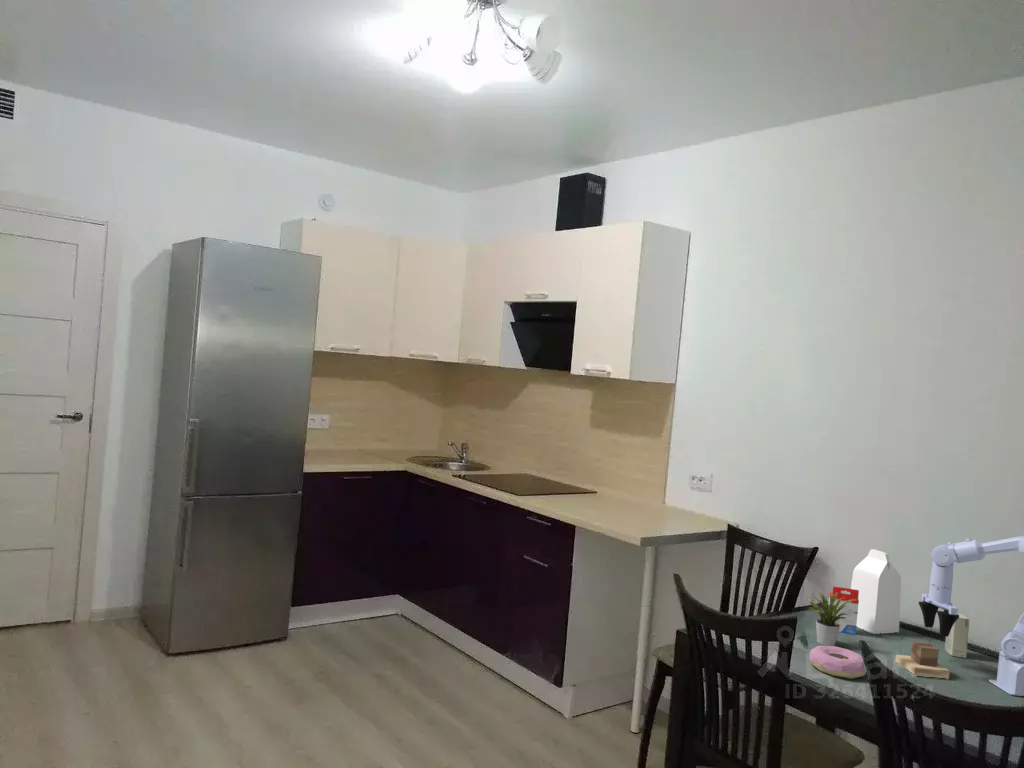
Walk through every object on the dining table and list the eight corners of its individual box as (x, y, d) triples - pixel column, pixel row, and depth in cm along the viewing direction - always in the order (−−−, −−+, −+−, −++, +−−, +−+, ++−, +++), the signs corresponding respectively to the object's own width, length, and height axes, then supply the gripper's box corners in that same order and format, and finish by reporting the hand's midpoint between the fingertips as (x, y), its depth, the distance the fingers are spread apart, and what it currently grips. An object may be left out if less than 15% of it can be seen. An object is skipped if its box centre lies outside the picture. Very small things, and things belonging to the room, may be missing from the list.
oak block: (948, 681, 214) (949, 670, 214) (913, 678, 214) (914, 667, 214) (928, 667, 224) (929, 657, 224) (894, 664, 224) (896, 654, 224)
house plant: (843, 637, 243) (849, 587, 243) (861, 653, 229) (867, 599, 229) (798, 632, 244) (804, 582, 244) (813, 648, 230) (819, 594, 230)
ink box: (853, 630, 252) (857, 586, 252) (855, 635, 247) (860, 590, 247) (825, 625, 254) (830, 582, 254) (827, 630, 250) (832, 586, 249)
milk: (845, 621, 261) (852, 546, 261) (869, 620, 266) (877, 546, 266) (873, 633, 250) (881, 555, 250) (898, 632, 255) (906, 555, 254)
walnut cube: (937, 666, 217) (938, 649, 217) (919, 664, 217) (921, 647, 217) (927, 659, 222) (929, 642, 222) (910, 658, 222) (912, 641, 222)
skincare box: (966, 658, 234) (970, 619, 234) (951, 656, 235) (955, 617, 235) (958, 651, 240) (962, 613, 240) (943, 649, 241) (947, 611, 241)
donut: (877, 675, 212) (879, 658, 212) (849, 685, 203) (851, 667, 203) (825, 656, 224) (827, 639, 224) (797, 665, 215) (798, 647, 215)
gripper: (913, 577, 231) (909, 622, 231) (942, 591, 216) (937, 638, 217) (936, 579, 231) (931, 623, 231) (966, 593, 217) (961, 640, 217)
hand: (936, 631), depth 224 cm, fingers open, 7 cm apart
